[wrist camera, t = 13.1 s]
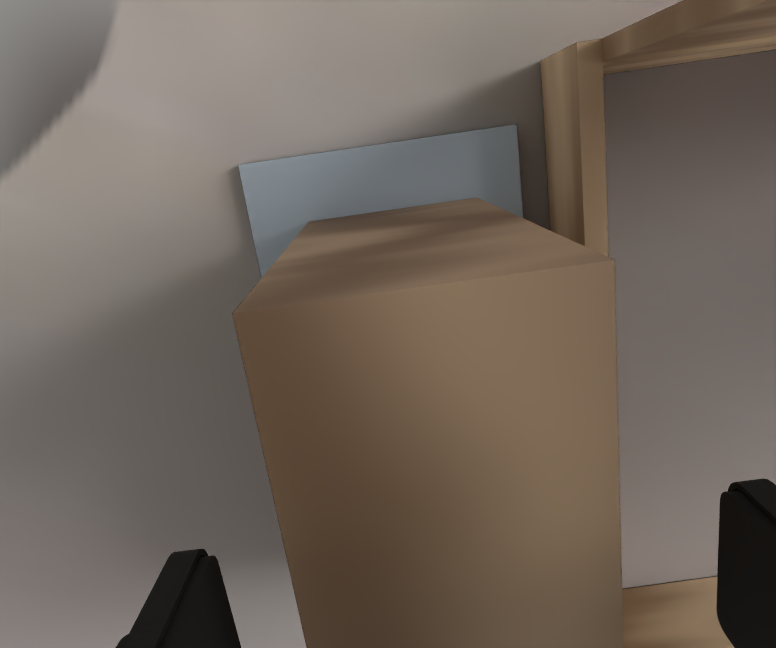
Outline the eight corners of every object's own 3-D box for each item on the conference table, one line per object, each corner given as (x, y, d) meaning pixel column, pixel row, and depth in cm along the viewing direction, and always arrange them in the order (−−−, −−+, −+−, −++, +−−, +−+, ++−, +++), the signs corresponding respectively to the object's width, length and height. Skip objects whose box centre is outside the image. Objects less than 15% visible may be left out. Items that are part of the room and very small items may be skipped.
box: (480, 197, 17) (628, 262, 7) (511, 543, 21) (638, 898, 11) (305, 221, 17) (220, 319, 7) (365, 562, 21) (361, 934, 11)
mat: (513, 124, 17) (516, 124, 17) (546, 577, 22) (549, 585, 21) (241, 164, 17) (238, 164, 17) (331, 606, 22) (331, 615, 21)
